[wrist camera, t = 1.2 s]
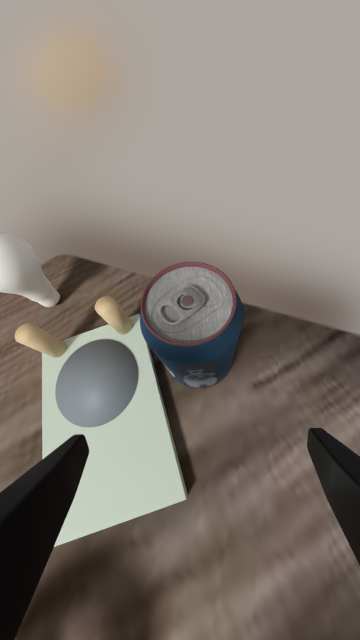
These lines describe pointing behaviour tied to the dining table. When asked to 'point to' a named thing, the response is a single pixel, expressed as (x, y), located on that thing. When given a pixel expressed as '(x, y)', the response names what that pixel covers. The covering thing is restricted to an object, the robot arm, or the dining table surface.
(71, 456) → the robot arm
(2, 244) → the lightbulb
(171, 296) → the soda can
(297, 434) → the dining table surface
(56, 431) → the board
